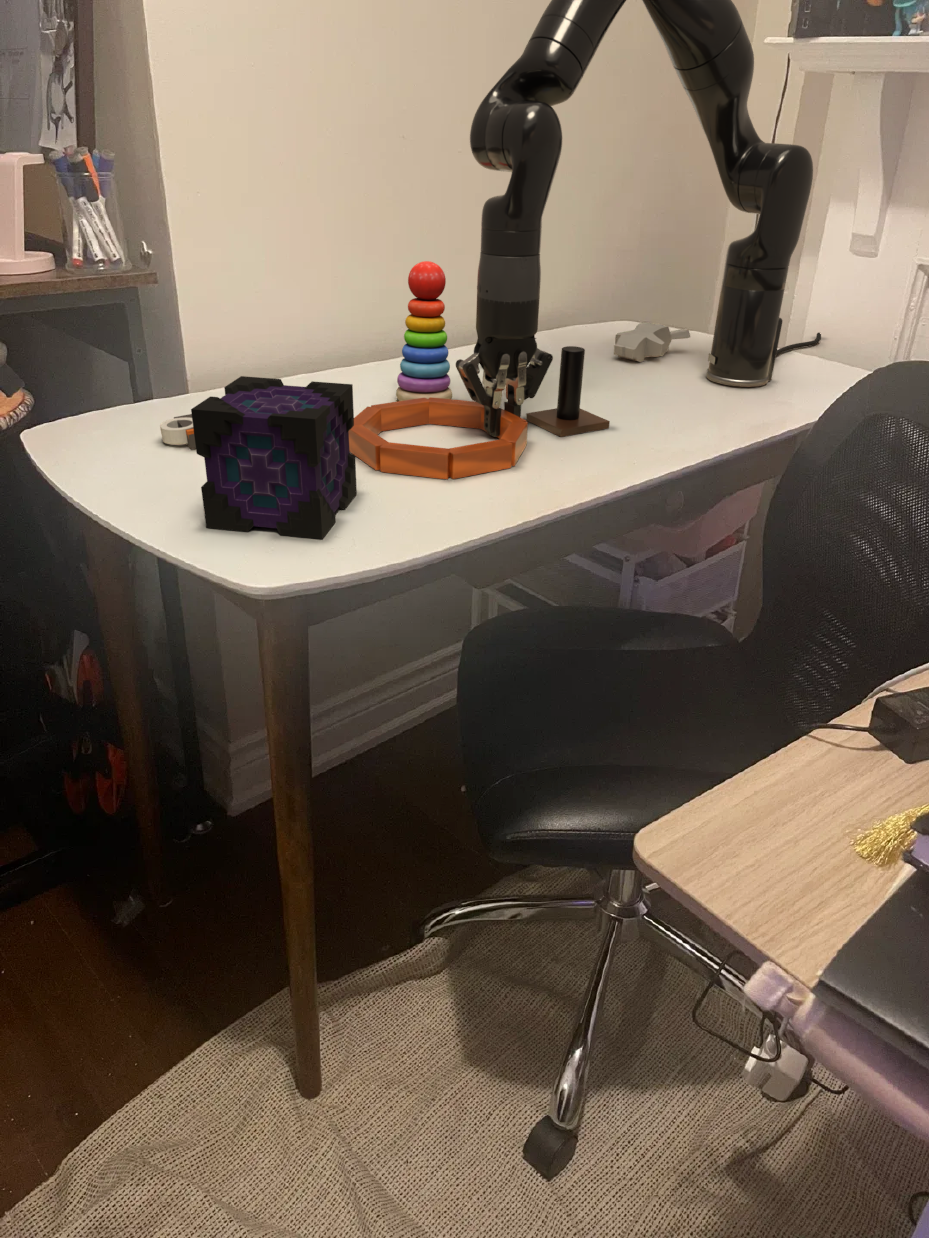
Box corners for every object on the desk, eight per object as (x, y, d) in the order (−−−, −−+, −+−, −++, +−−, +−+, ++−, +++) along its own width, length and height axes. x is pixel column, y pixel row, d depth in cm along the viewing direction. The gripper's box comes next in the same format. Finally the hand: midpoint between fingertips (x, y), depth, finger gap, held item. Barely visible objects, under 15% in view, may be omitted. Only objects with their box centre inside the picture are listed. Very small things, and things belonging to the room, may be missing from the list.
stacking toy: (445, 411, 125) (447, 268, 116) (389, 406, 126) (387, 264, 117) (457, 396, 132) (460, 259, 122) (404, 391, 133) (403, 256, 124)
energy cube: (322, 539, 88) (315, 419, 82) (206, 528, 89) (190, 409, 83) (356, 494, 98) (352, 384, 92) (251, 484, 100) (241, 376, 94)
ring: (466, 412, 125) (466, 391, 123) (556, 459, 109) (557, 435, 108) (325, 435, 115) (324, 411, 113) (402, 489, 100) (402, 463, 98)
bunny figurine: (600, 333, 152) (651, 310, 161) (600, 362, 155) (650, 339, 164) (648, 343, 146) (698, 319, 155) (646, 373, 149) (695, 349, 158)
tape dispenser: (153, 417, 112) (269, 397, 118) (158, 440, 113) (272, 419, 119) (167, 433, 107) (287, 411, 113) (172, 457, 108) (290, 433, 114)
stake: (572, 412, 126) (579, 339, 121) (609, 428, 120) (617, 352, 115) (525, 420, 122) (530, 345, 117) (560, 437, 116) (567, 359, 112)
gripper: (475, 303, 102) (471, 450, 110) (573, 294, 108) (562, 434, 117) (442, 291, 107) (440, 433, 116) (537, 283, 114) (529, 418, 122)
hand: (501, 432), depth 116 cm, fingers closed on ring, 2 cm apart
